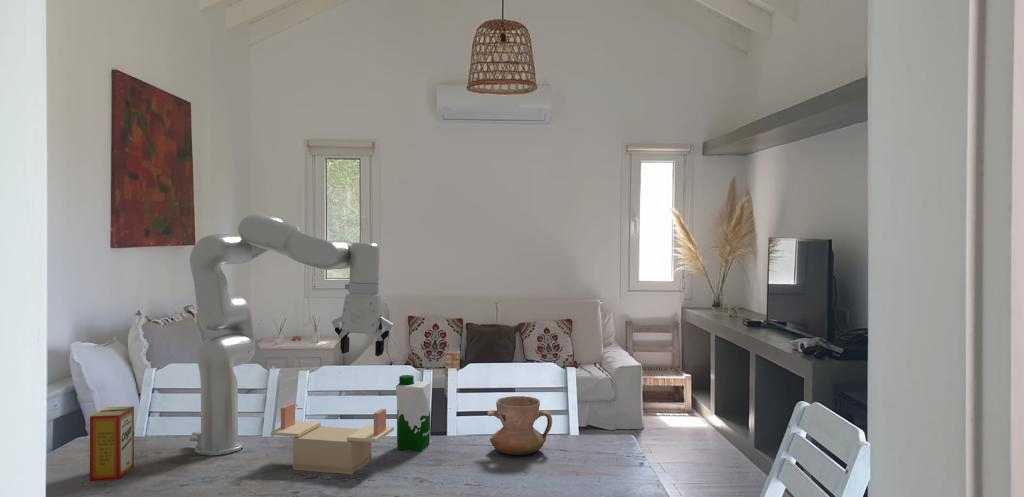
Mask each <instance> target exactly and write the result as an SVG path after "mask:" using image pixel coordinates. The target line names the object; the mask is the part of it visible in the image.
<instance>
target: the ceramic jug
mask: <svg viewBox="0 0 1024 497" xmlns="http://www.w3.org/2000/svg"><path fill="white" fill-rule="evenodd" d="M540 404H541V400H540V399H538V398H537V397H532V396H524V395H522V396H521V395H513V396H504V397H500V398H498V399H496V401H495V405H496V410H494V409H492V410H491V409H490V410H489V411H487V415H488V416H489V417H492V416H494V417H495V418H497V419H499V421H500V422H501V425H502V428H500V429H498V430H497V431H496V432H495V433H494V434H493V435H492V436H490V438H489V443H491V445H492V446H493V449H495V450H497V451H498V452H500V453H502V454H505V455H510V456H511V455H512V456H525V455H528V454H529V455H530V454H533V453H535V452H537V451H539V450H540V449H542V448H543V446H544V445H545V442H546V440H547V436H548V434H549V433H550V431H551V429H552V426H553V417H552V414H551V413H550V412H549V411H547V410H542V411H540V407H541V405H540ZM541 417H546V421H547V423H546V427H545V429H544V432H543V433H541V432H540V431H538V430H537V429H536V428H535V427H534V424H535V422H536V420H538V419H539V418H541Z"/></svg>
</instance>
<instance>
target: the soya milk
mask: <svg viewBox="0 0 1024 497" xmlns="http://www.w3.org/2000/svg"><path fill="white" fill-rule="evenodd" d="M398 379H399V380H398V382H399V383H398V384H397V385H395V391H396V392H395V394H396V450H397V451H405V450H410V451H409V452H423V451H424V450H425V449H426V448H427V447H428V446H430V440H431V439H430V438H431V387H432V386H431V382H430V381H422V380H421V381H419V380H418V381H416V380H414V379H415V377H414V375H412V374H411V375H410V374H403V375H399V377H398ZM426 446H427V447H426ZM425 447H426V448H425ZM424 448H425V449H424ZM423 449H424V450H423Z"/></svg>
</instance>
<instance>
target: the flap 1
mask: <svg viewBox="0 0 1024 497" xmlns="http://www.w3.org/2000/svg"><path fill="white" fill-rule="evenodd" d="M321 425H322V424H321V421H317V422H316V421H305V420H304V421H303V420H296V403H289V404H286V405H284V406H282V407H281V408H280V427H278V428H276V429H274V430H271V431H270V436H277V437H280V436H281V437H293V438H294V437H299V436H301V435H303V434H305V433H307V432H309V431H311V430H313V429H315V428H317V427H319V426H321Z"/></svg>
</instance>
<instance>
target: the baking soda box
mask: <svg viewBox="0 0 1024 497" xmlns="http://www.w3.org/2000/svg"><path fill="white" fill-rule="evenodd" d="M134 468H135V406H107V407H104V408H103V409H100V410H99V411H97V412H95V413H94V414H92V415H91V414H90V416H89V482H99V481H119V480H121V478H123V477H125V475H126V474H128V473H129V472H130V471H131V470H132V469H134Z"/></svg>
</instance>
